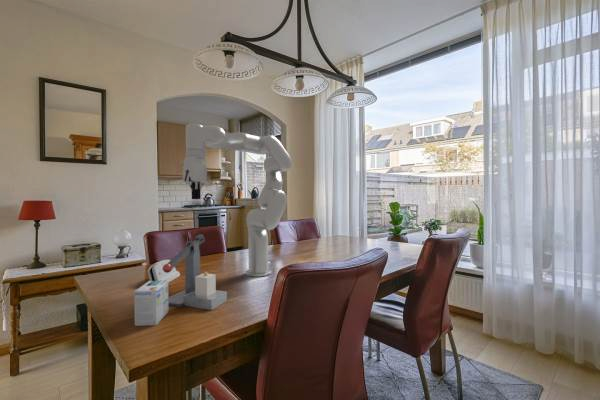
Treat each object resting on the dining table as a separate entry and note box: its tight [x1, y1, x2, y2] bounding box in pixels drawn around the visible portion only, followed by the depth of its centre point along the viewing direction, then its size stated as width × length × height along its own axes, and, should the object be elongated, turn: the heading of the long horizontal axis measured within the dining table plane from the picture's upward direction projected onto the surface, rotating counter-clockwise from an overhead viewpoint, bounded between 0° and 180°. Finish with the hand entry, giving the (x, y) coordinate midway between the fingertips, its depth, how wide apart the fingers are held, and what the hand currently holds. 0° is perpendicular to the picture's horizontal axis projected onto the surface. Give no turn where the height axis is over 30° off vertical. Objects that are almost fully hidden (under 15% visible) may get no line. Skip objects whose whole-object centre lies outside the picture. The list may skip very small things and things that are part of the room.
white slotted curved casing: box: [147, 259, 181, 283], centre depth 136 cm, size 17×5×10 cm, turn 175°
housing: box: [195, 271, 217, 296], centre depth 108 cm, size 5×5×8 cm
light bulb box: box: [133, 280, 170, 327], centre depth 95 cm, size 11×7×11 cm, turn 5°
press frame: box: [168, 240, 228, 311], centre depth 112 cm, size 17×21×20 cm
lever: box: [163, 233, 206, 273], centre depth 116 cm, size 23×3×3 cm, turn 160°
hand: (196, 199), depth 125 cm, fingers closed
